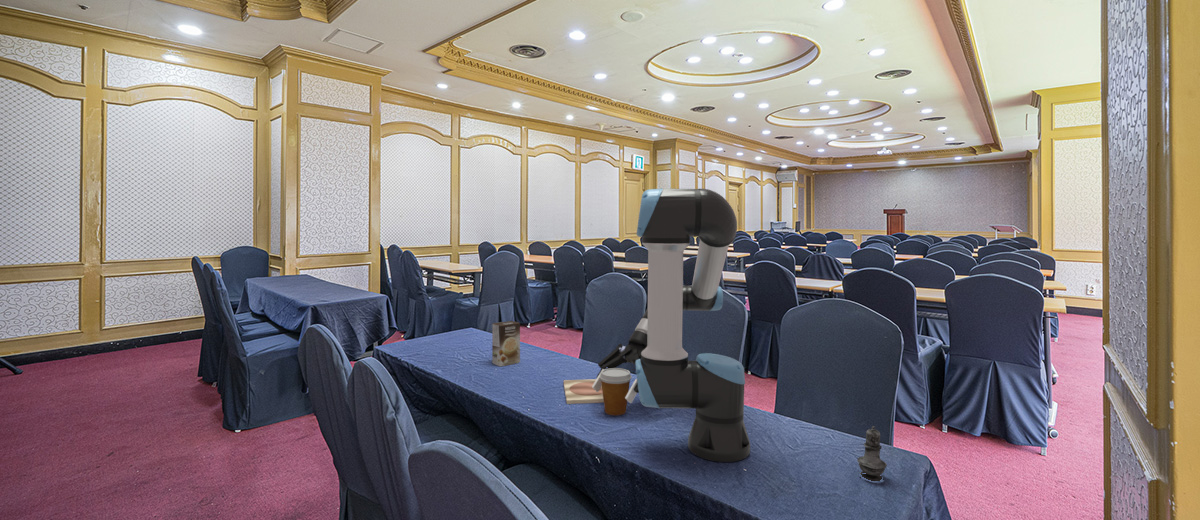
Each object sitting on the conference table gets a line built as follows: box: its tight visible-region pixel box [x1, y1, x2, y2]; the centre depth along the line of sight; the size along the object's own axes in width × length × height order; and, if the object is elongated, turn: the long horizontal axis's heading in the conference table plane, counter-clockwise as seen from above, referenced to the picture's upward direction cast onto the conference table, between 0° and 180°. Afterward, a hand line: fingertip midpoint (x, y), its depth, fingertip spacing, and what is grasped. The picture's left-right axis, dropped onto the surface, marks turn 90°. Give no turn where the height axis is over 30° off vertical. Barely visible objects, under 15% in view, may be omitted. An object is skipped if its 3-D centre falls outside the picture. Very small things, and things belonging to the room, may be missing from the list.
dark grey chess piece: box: [857, 425, 888, 481], centre depth 119 cm, size 6×6×12 cm
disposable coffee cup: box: [600, 367, 632, 416], centre depth 159 cm, size 10×10×12 cm
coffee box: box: [491, 320, 521, 367], centre depth 210 cm, size 9×6×16 cm
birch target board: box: [563, 378, 604, 405], centre depth 176 cm, size 20×16×1 cm
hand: (610, 395), depth 158 cm, fingers open, 13 cm apart
